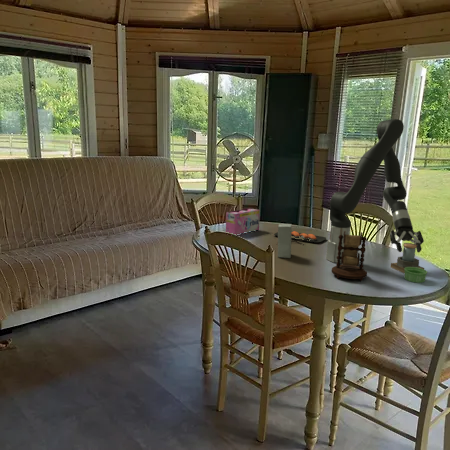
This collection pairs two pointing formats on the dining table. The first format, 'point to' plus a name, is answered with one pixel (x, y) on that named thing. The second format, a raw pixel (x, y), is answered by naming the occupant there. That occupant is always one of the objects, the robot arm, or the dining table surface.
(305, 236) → the sushi plate
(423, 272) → the ramekin
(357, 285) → the dining table surface
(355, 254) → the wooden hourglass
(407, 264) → the socket
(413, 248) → the canister
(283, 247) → the skincare box
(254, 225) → the gum box
